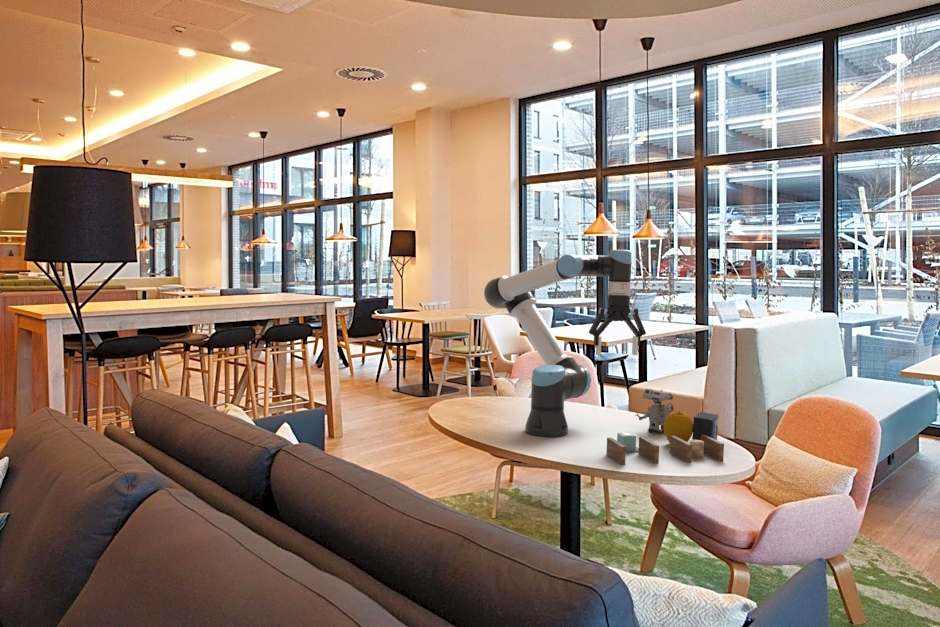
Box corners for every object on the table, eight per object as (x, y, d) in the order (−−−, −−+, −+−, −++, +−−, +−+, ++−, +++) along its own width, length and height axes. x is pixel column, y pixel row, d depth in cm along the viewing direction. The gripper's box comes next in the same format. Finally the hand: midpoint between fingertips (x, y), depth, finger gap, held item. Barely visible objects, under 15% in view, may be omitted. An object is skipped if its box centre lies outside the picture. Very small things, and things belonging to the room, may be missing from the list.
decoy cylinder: (693, 459, 215) (694, 443, 215) (686, 455, 219) (686, 439, 219) (705, 458, 216) (706, 442, 216) (698, 454, 220) (699, 439, 220)
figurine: (649, 425, 259) (651, 386, 258) (675, 432, 250) (677, 391, 249) (634, 429, 253) (636, 388, 252) (661, 435, 244) (663, 393, 243)
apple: (675, 449, 225) (676, 414, 224) (656, 442, 234) (657, 408, 233) (698, 447, 229) (700, 412, 228) (679, 440, 238) (680, 406, 237)
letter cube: (616, 446, 226) (617, 432, 226) (629, 445, 227) (630, 432, 227) (622, 449, 222) (623, 435, 221) (635, 449, 223) (636, 435, 222)
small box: (711, 451, 225) (712, 419, 224) (691, 447, 229) (692, 416, 228) (718, 444, 234) (719, 413, 234) (698, 441, 238) (699, 411, 237)
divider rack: (620, 464, 207) (621, 446, 206) (606, 454, 217) (607, 437, 217) (723, 460, 214) (724, 443, 213) (704, 451, 224) (705, 434, 224)
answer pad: (619, 452, 220) (619, 451, 220) (609, 446, 228) (609, 444, 228) (642, 452, 221) (642, 450, 221) (631, 445, 229) (631, 444, 229)
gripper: (589, 294, 232) (586, 356, 234) (657, 295, 237) (654, 356, 239) (581, 293, 239) (578, 353, 241) (647, 294, 244) (644, 353, 246)
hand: (616, 355), depth 240 cm, fingers open, 13 cm apart
